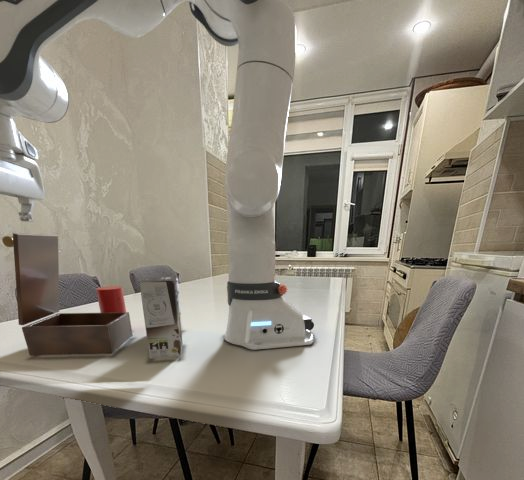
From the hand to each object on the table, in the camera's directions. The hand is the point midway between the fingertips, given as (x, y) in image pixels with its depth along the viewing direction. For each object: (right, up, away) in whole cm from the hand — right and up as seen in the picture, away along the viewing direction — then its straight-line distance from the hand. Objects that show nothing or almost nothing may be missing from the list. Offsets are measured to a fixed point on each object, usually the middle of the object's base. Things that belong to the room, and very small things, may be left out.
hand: (11, 220), depth 57 cm
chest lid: (+3, -11, +4) cm, 12 cm away
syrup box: (+25, -21, +20) cm, 38 cm away
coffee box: (+29, -26, +7) cm, 40 cm away
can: (+11, -21, +21) cm, 31 cm away
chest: (+9, -25, +10) cm, 28 cm away
